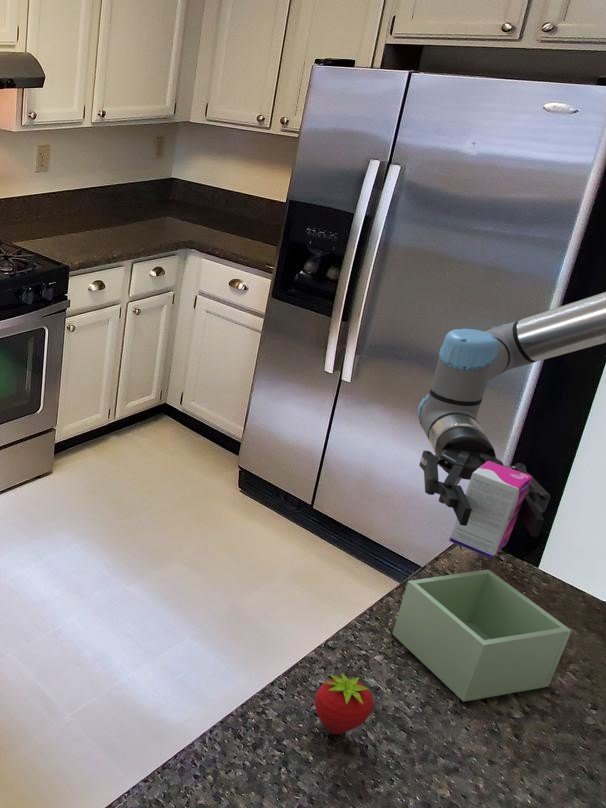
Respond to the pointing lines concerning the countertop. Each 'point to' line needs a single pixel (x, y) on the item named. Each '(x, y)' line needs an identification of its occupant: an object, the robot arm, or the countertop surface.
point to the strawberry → (343, 704)
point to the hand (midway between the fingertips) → (501, 522)
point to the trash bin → (480, 634)
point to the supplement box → (491, 508)
